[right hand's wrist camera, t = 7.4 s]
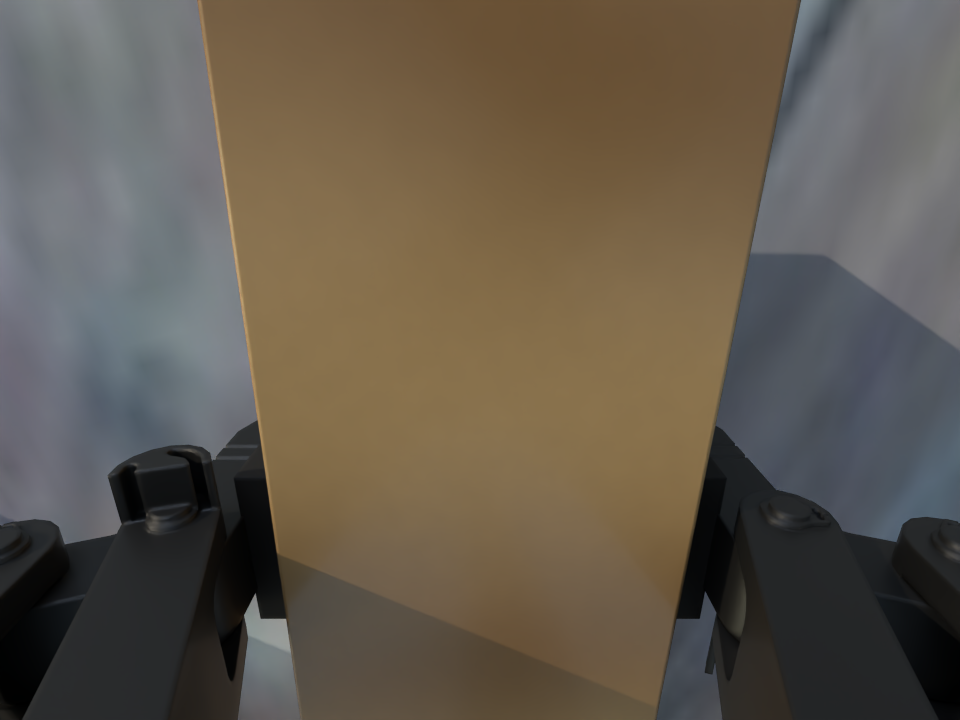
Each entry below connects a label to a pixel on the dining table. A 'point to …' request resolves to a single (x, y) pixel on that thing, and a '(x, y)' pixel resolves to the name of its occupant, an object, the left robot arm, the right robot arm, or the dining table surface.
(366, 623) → the bar
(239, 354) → the dining table surface
